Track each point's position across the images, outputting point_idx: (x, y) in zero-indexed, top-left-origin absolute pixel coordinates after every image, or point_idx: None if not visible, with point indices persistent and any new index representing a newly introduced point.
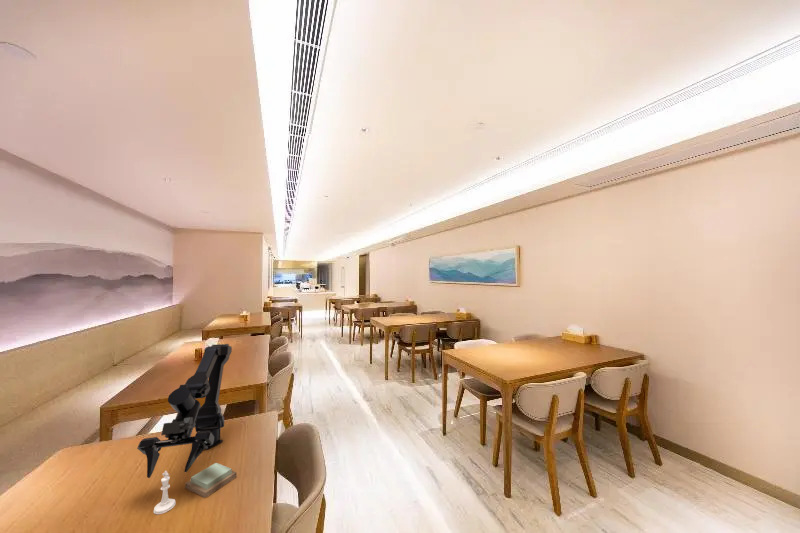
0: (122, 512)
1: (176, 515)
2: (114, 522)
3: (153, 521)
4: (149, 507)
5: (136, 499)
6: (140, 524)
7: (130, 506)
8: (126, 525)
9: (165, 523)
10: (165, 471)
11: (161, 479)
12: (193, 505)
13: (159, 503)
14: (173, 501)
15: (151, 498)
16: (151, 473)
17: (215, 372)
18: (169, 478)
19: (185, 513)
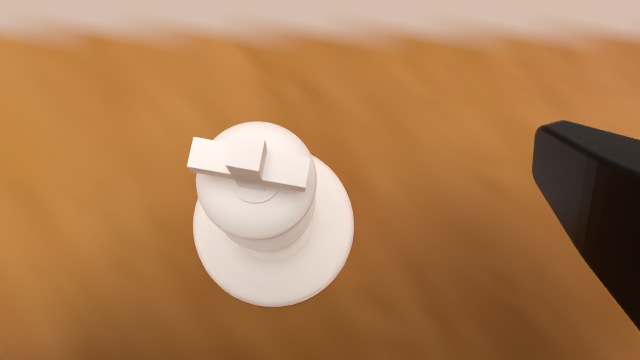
0: None
1: (95, 137)
2: (556, 69)
3: (245, 77)
4: (417, 225)
5: None
6: (327, 50)
7: None
8: (430, 41)
9: (127, 58)
10: (246, 146)
11: (302, 150)
12: (16, 252)
13: (328, 222)
14: (214, 257)
15: (502, 337)
16: (569, 213)
17: None
18: (199, 196)
19: (29, 159)
